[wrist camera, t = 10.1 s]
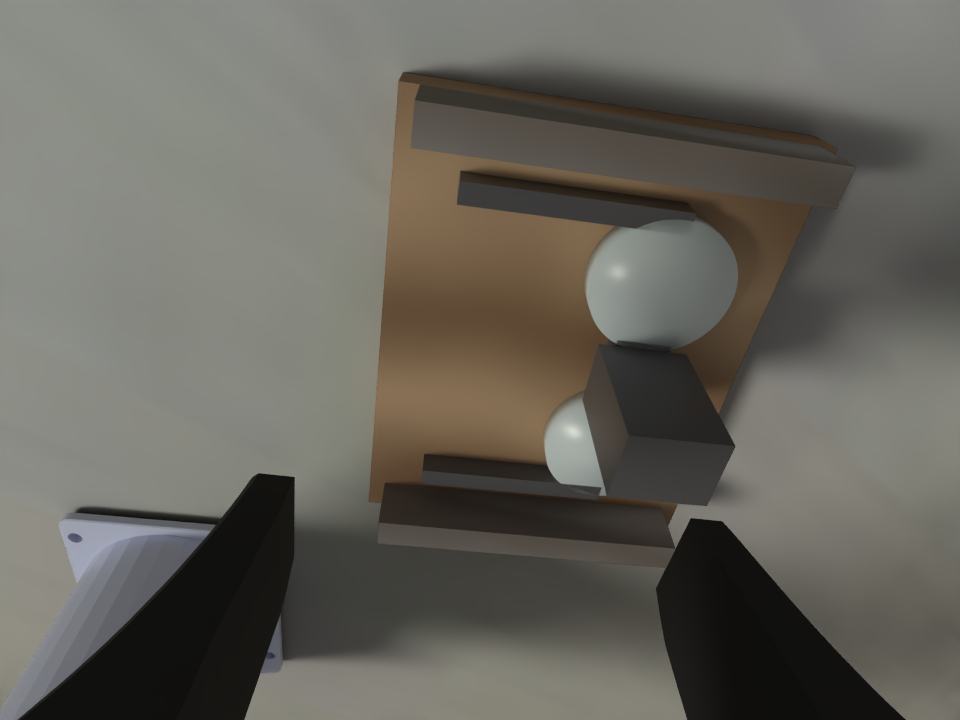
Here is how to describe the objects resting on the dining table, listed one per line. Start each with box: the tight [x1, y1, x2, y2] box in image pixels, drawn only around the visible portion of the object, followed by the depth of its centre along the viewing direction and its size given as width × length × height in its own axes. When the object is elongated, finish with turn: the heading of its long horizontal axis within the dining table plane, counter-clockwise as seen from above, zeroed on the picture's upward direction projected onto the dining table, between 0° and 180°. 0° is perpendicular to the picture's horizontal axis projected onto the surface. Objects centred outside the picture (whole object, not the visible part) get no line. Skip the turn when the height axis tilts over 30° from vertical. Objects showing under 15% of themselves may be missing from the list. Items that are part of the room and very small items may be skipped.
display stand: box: [369, 72, 856, 568], centre depth 19 cm, size 14×11×3 cm
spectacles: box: [421, 171, 738, 506], centre depth 17 cm, size 10×8×5 cm
